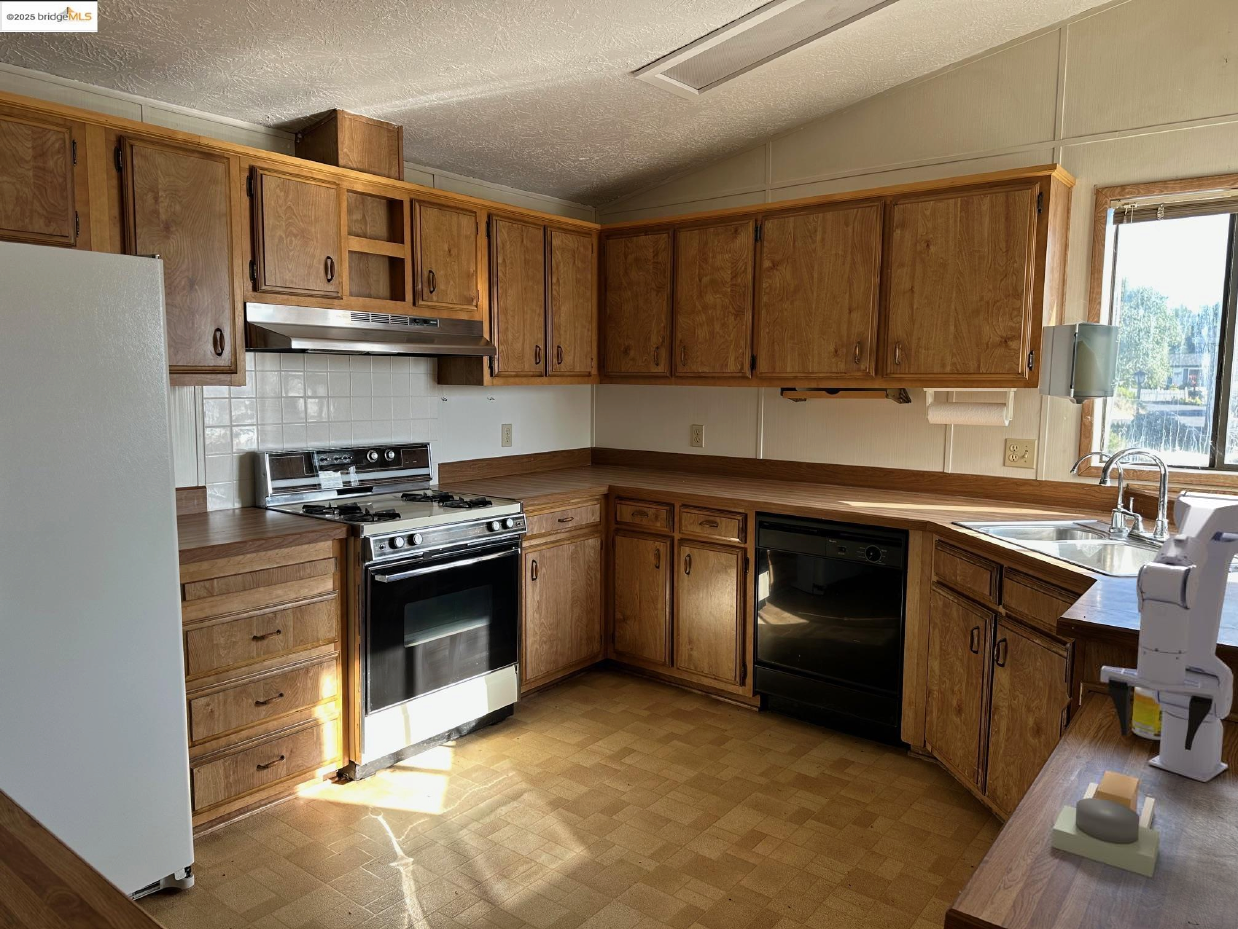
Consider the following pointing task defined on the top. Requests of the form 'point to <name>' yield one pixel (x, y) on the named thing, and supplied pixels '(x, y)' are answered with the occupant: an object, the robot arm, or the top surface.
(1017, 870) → the top surface
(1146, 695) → the supplement bottle
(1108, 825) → the green base with dome
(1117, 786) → the chute block
